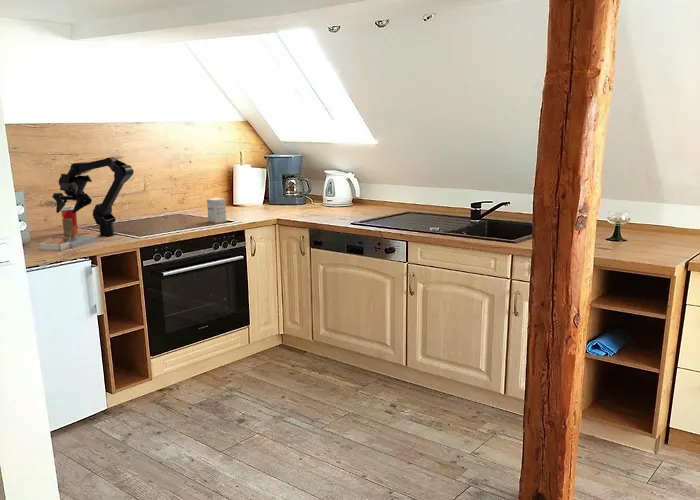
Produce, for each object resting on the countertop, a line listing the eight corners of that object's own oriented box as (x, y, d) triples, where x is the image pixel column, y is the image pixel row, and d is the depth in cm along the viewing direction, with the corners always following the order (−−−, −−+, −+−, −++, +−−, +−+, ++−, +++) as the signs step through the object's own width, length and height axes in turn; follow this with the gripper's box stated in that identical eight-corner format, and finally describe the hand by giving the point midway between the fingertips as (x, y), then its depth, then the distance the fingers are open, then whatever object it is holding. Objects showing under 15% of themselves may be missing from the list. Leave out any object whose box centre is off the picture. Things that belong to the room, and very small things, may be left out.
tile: (57, 241, 284) (55, 238, 282) (64, 241, 283) (62, 238, 281) (52, 247, 281) (50, 244, 280) (60, 247, 280) (57, 244, 279)
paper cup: (67, 232, 321) (64, 205, 318) (82, 232, 321) (78, 205, 318) (60, 235, 313) (56, 207, 310) (75, 234, 313) (71, 207, 310)
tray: (49, 247, 284) (49, 240, 284) (70, 248, 281) (69, 241, 281) (39, 250, 278) (38, 243, 277) (60, 251, 275) (59, 244, 275)
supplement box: (207, 221, 342) (206, 199, 340) (219, 219, 348) (217, 197, 345) (215, 223, 337) (214, 200, 335) (226, 221, 343) (225, 198, 340)
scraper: (64, 239, 292) (61, 218, 289) (80, 239, 289) (77, 218, 287) (53, 242, 285) (50, 221, 283) (69, 243, 282) (67, 221, 280)
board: (72, 239, 301) (71, 235, 300) (97, 240, 297) (96, 236, 296) (47, 247, 285) (46, 242, 284) (72, 248, 281) (72, 243, 280)
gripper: (52, 176, 300) (38, 202, 292) (85, 176, 295) (72, 202, 288) (65, 190, 309) (52, 215, 302) (97, 190, 305) (85, 216, 297)
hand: (65, 212), depth 297 cm, fingers open, 9 cm apart
